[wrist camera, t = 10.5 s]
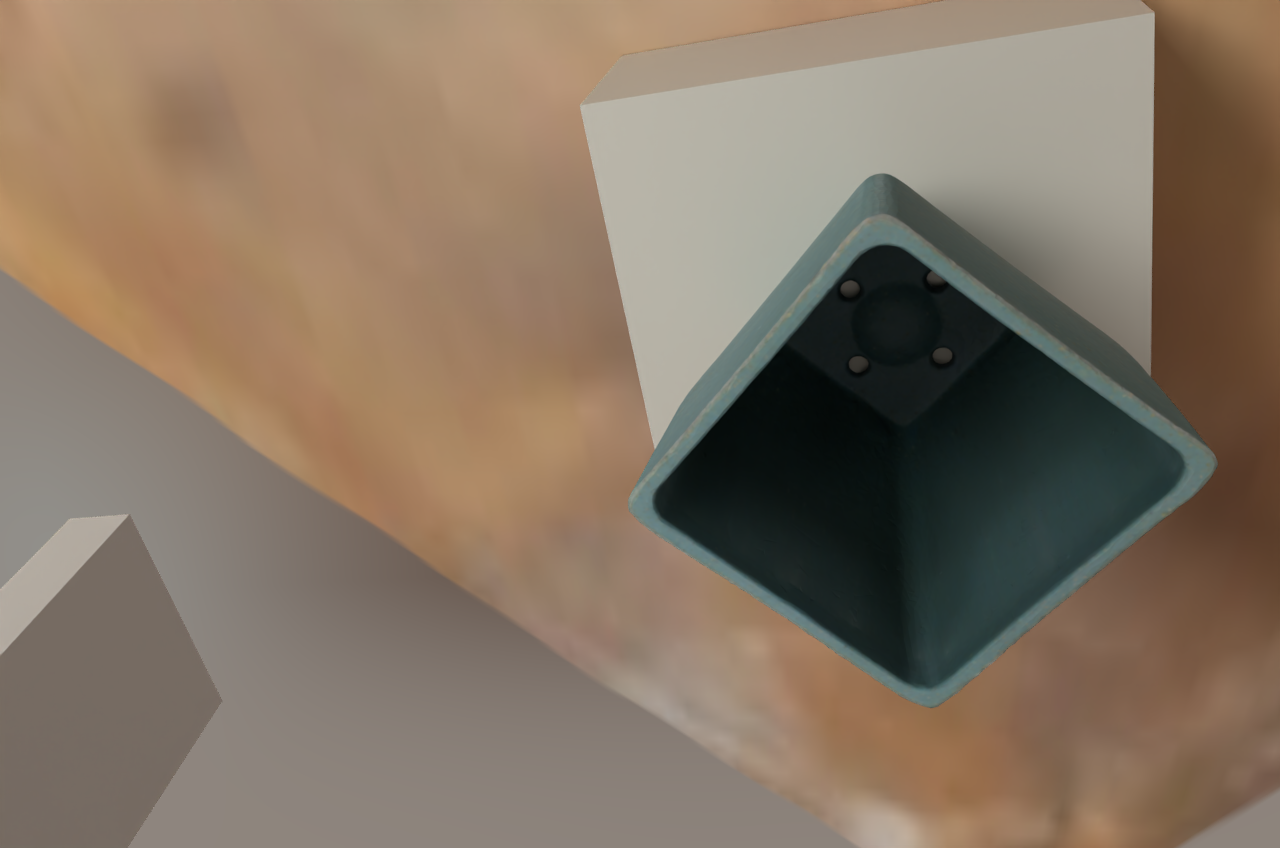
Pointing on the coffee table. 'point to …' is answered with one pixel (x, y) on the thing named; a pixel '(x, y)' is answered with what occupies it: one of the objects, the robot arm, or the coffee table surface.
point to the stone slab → (876, 162)
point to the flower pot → (916, 450)
